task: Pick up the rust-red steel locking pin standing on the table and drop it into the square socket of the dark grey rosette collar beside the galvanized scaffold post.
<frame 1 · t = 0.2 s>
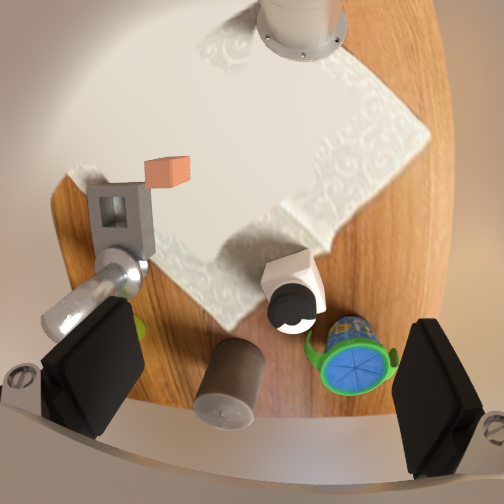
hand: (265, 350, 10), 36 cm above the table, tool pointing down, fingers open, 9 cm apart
medicine bottle: (295, 274, 48), on the table
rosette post: (128, 235, 50), on the table
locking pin: (178, 168, 45), on the table
pillar candle: (239, 358, 56), on the table
snack cup: (349, 331, 50), on the table
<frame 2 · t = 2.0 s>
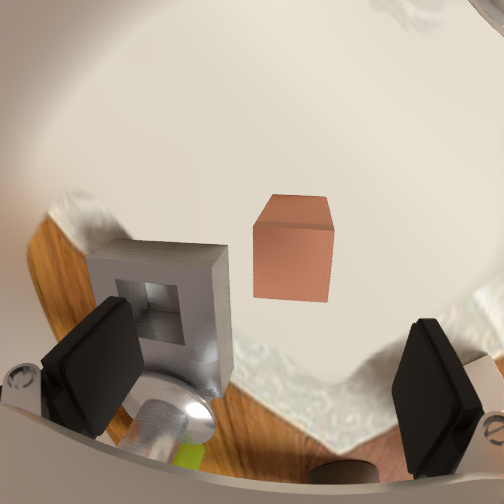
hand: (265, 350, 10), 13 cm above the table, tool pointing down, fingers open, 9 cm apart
medicine bottle: (458, 387, 24), on the table
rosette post: (178, 336, 27), on the table
soap dispenser: (187, 443, 34), on the table
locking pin: (298, 221, 21), on the table
pillar candle: (343, 475, 32), on the table
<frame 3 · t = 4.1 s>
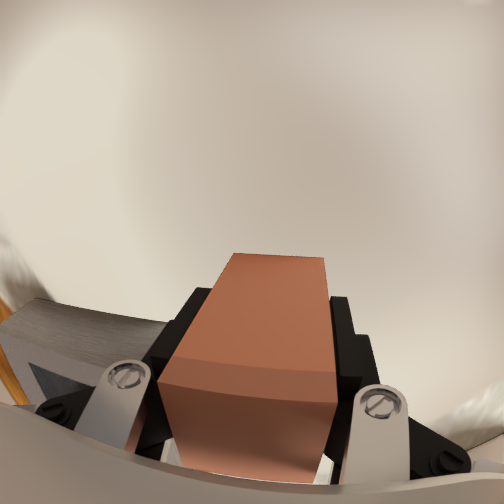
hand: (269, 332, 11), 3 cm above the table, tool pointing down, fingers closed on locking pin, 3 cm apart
medicine bottle: (475, 460, 16), on the table
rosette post: (127, 416, 18), on the table
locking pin: (277, 295, 13), on the table, touching gripper
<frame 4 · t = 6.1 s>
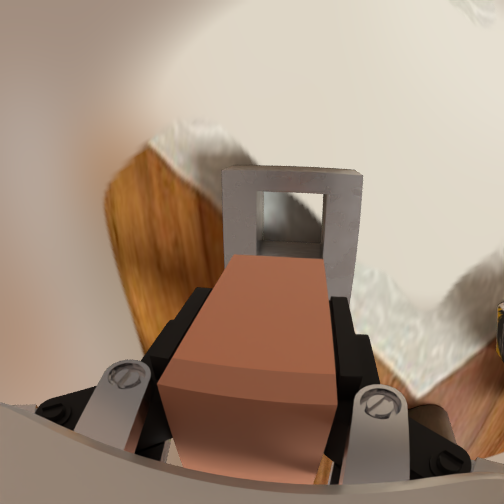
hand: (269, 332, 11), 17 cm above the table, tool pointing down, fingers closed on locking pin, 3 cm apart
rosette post: (290, 268, 28), on the table
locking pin: (277, 296, 13), point 14 cm above the table, touching gripper
pillar candle: (414, 426, 33), on the table
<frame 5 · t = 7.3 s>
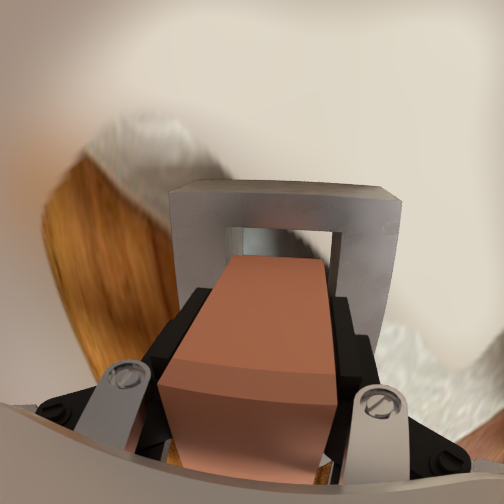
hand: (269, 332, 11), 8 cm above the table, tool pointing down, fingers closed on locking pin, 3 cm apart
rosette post: (283, 326, 19), on the table
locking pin: (276, 296, 13), point 5 cm above the table, touching gripper
when the fingers open (5 cm above the table, at t = 8.4 s): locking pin drops 2 cm, resting in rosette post.
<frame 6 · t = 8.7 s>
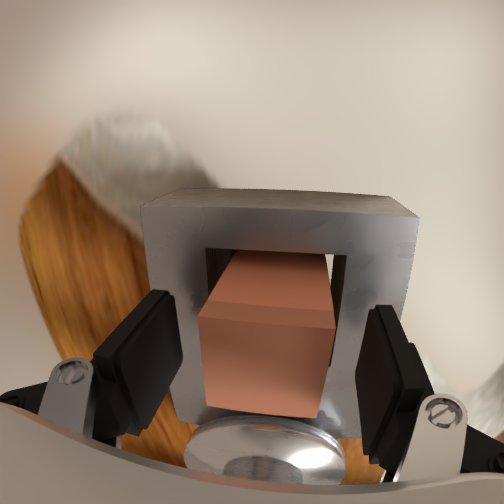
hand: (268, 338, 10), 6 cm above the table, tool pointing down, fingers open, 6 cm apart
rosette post: (277, 351, 17), on the table
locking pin: (282, 270, 15), resting in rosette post
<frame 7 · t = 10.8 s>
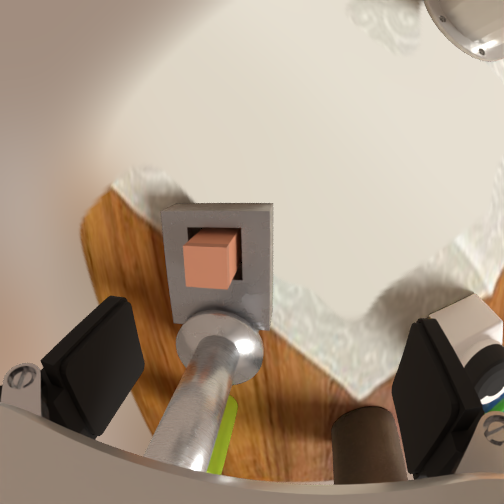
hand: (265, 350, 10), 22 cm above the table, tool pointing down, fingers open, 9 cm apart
medicine bottle: (454, 325, 32), on the table
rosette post: (226, 285, 34), on the table
soap dispenser: (220, 404, 40), on the table
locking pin: (225, 241, 32), resting in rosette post
pillar candle: (362, 426, 39), on the table
snack cup: (485, 377, 34), on the table
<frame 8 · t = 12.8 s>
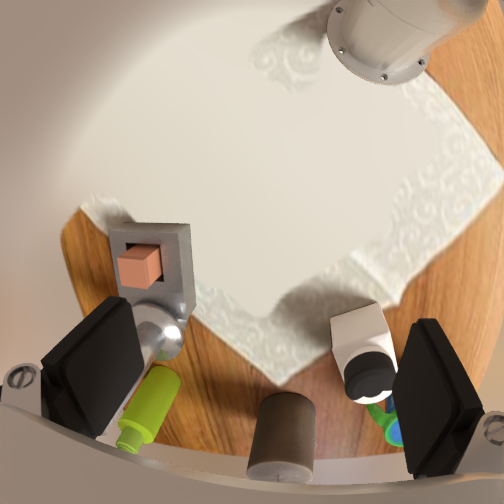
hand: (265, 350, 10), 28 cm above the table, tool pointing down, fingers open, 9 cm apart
medicine bottle: (359, 328, 41), on the table
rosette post: (161, 284, 43), on the table
soap dispenser: (168, 379, 50), on the table
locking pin: (158, 251, 41), resting in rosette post
pillar candle: (287, 410, 48), on the table
snack cup: (406, 379, 43), on the table
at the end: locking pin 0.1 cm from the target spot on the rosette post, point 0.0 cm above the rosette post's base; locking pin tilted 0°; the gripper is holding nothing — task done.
